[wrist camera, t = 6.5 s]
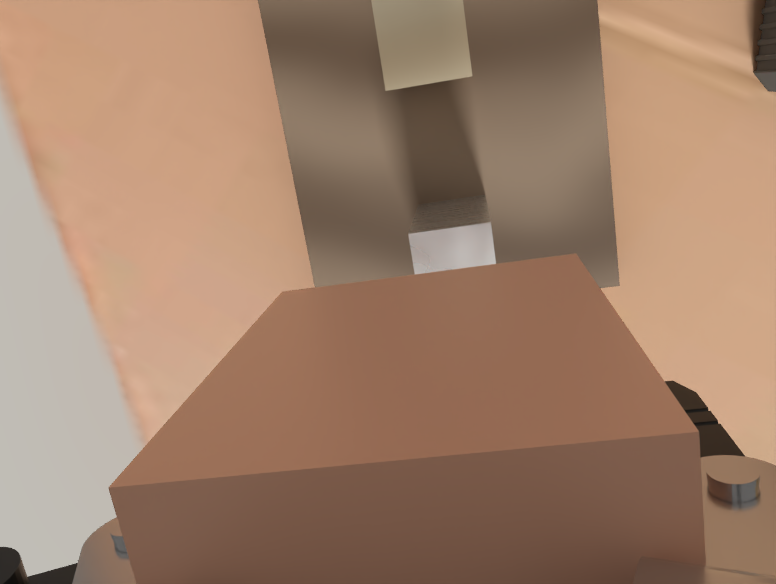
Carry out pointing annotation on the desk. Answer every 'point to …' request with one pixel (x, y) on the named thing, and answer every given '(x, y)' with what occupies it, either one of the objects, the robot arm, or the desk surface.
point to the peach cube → (422, 442)
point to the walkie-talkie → (767, 48)
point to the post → (451, 235)
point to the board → (443, 126)
